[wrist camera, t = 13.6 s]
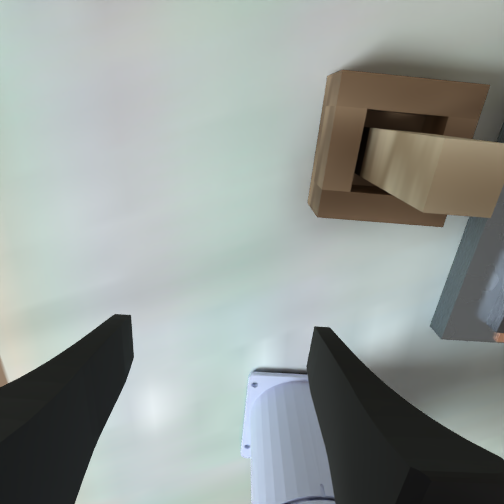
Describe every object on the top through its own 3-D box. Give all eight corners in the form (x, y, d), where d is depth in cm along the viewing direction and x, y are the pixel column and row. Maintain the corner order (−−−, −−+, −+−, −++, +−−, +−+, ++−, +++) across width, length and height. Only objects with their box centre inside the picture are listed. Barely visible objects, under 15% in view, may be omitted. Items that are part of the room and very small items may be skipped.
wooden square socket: (416, 211, 21) (442, 227, 18) (307, 202, 20) (317, 217, 18) (452, 88, 18) (490, 84, 15) (327, 76, 18) (342, 69, 15)
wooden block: (396, 176, 19) (490, 218, 12) (354, 172, 19) (423, 212, 12) (408, 130, 18) (518, 145, 11) (363, 126, 18) (445, 137, 11)
